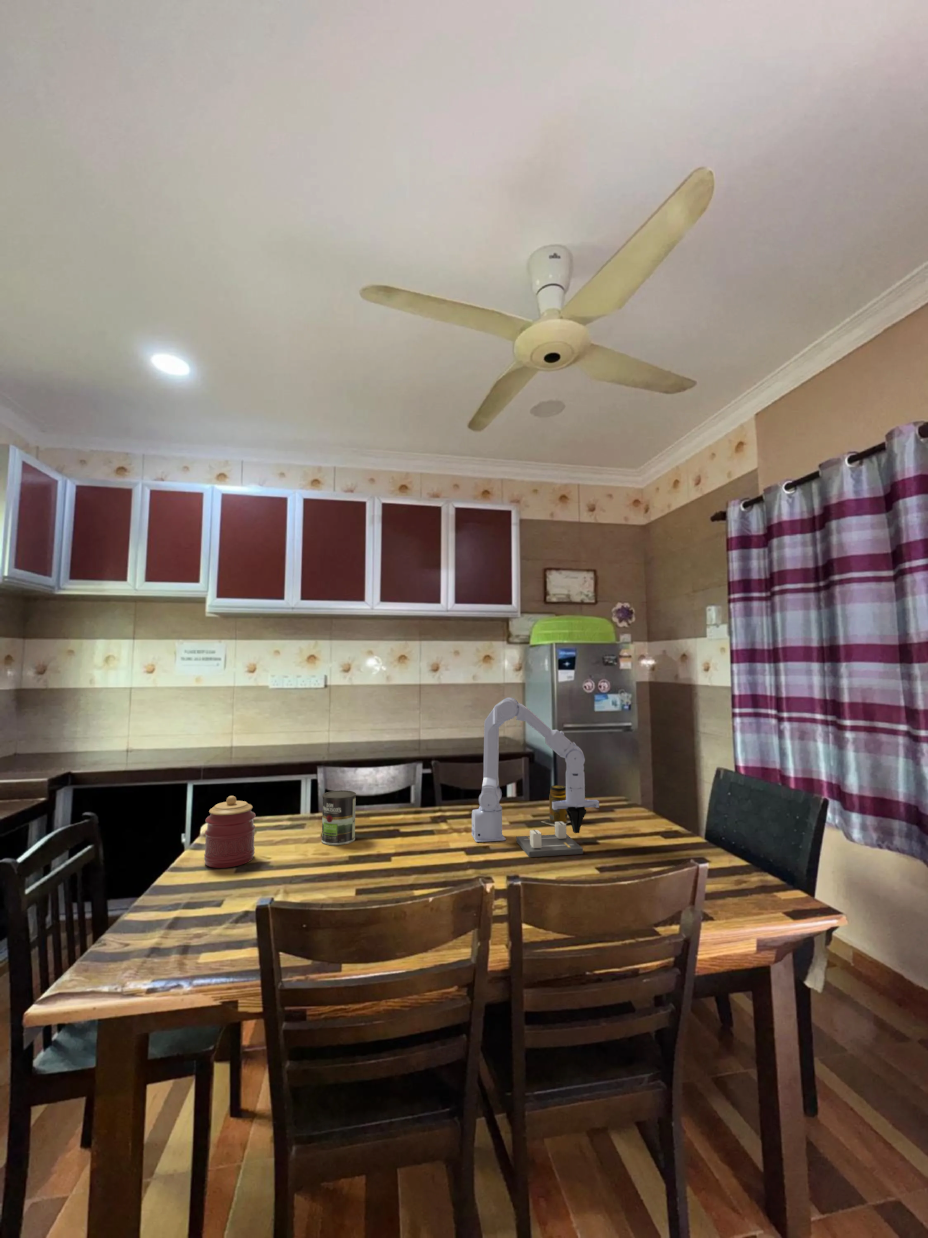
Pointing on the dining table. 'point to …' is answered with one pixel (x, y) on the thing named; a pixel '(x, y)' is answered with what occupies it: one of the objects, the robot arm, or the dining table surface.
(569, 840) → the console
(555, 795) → the condiment
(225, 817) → the canister
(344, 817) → the coffee can
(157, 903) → the dining table surface
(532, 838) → the fader near
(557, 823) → the fader far
